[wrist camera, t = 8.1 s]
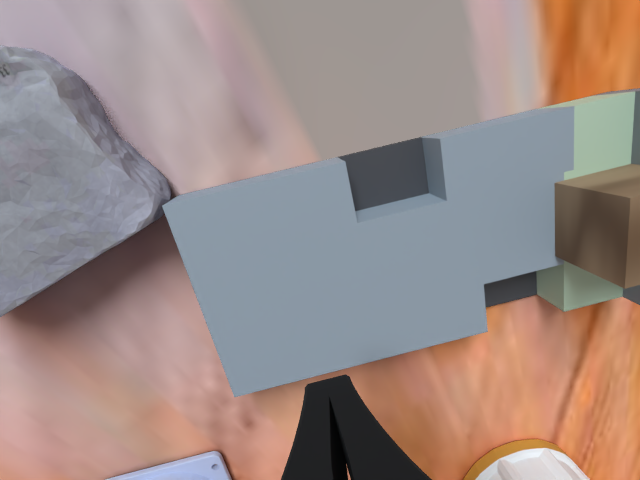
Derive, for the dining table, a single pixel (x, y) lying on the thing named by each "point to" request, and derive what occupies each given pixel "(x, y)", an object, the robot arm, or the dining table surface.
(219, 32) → the dining table surface
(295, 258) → the board
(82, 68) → the dining table surface
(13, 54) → the stone block
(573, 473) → the cup
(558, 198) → the walnut cube
